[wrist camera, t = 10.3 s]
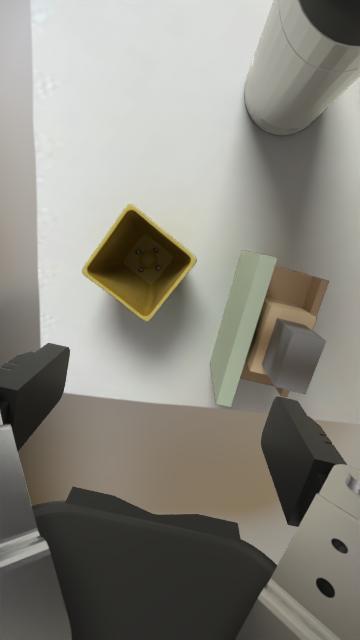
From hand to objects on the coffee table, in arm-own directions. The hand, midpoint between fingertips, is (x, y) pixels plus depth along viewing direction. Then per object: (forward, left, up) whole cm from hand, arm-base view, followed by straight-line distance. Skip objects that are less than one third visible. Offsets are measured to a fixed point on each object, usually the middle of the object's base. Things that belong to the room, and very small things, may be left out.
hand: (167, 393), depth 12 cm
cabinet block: (+2, +11, -25) cm, 27 cm away
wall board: (+2, +10, -30) cm, 32 cm away
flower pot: (-2, -5, -30) cm, 31 cm away
